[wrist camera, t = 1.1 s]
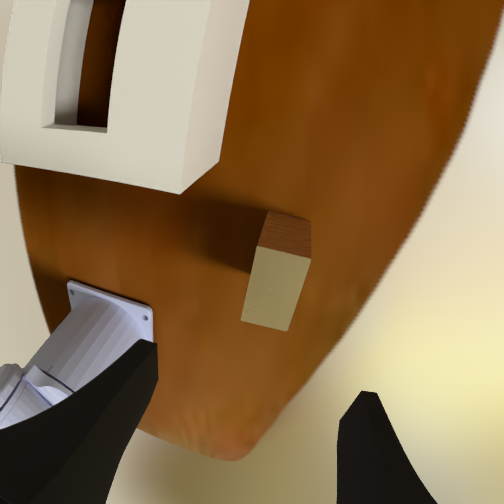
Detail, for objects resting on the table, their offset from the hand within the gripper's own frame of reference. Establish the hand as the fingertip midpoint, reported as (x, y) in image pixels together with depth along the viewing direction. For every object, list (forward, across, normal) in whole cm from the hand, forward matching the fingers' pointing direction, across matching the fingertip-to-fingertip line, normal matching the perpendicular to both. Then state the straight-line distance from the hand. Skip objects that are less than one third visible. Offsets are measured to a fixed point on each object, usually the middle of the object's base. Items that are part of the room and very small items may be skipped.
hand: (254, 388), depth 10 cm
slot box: (+10, +10, -10) cm, 17 cm away
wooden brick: (+10, 0, 0) cm, 10 cm away
